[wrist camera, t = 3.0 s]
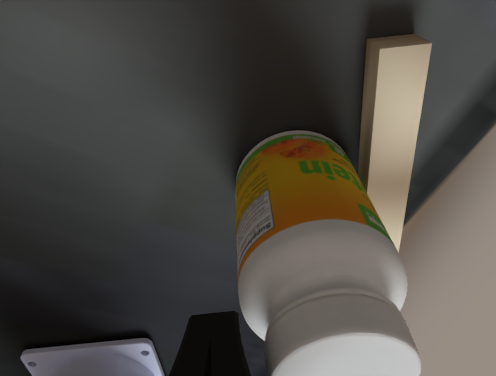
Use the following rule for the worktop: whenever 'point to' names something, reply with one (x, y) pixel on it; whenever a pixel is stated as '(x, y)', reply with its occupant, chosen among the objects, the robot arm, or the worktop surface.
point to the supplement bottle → (318, 264)
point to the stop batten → (391, 123)
